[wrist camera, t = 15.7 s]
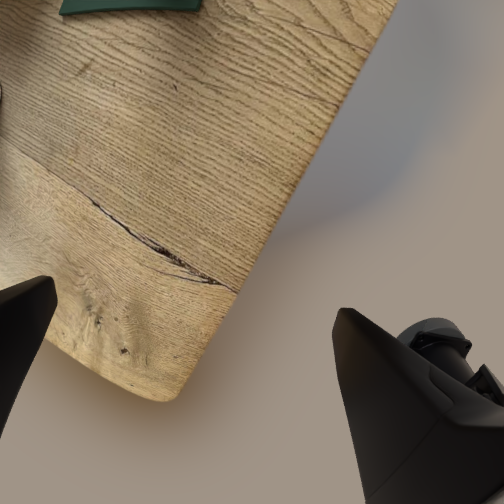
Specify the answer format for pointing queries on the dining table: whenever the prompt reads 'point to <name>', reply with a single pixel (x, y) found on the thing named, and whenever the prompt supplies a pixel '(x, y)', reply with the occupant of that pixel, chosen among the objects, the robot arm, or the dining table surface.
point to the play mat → (126, 5)
